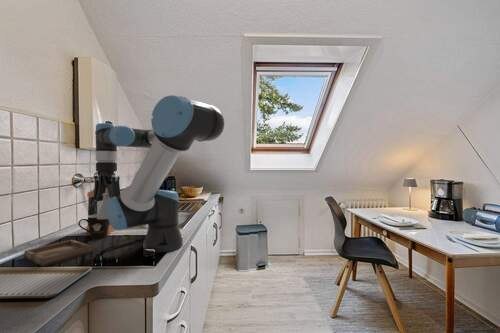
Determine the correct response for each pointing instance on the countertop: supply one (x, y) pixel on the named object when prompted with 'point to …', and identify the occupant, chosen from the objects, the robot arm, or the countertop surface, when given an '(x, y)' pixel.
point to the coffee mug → (96, 227)
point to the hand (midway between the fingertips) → (106, 217)
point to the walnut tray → (57, 252)
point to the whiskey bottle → (95, 209)
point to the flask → (104, 207)
